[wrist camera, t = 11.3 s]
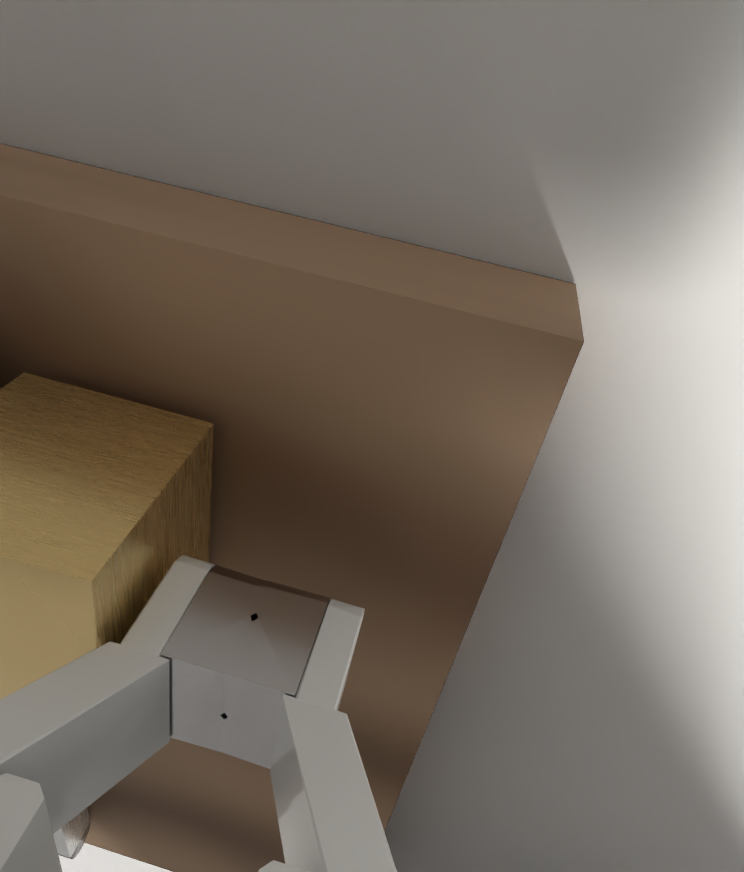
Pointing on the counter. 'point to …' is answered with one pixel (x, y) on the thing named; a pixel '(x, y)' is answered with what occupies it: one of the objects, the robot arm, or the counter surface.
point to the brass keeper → (90, 517)
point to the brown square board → (294, 438)
